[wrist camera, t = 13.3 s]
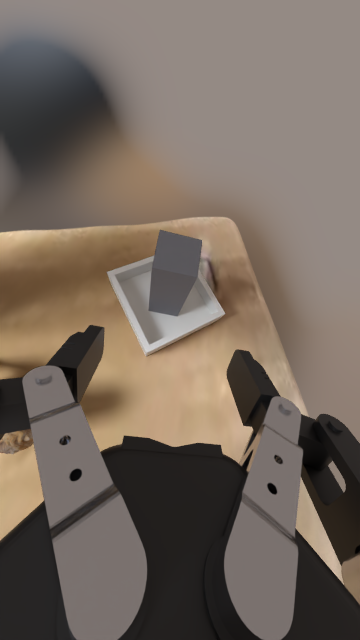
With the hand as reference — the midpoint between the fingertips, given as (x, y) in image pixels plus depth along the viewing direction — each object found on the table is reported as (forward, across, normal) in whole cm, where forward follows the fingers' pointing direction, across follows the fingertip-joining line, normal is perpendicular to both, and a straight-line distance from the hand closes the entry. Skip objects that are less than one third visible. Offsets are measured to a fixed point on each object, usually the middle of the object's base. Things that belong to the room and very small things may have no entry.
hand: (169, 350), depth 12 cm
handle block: (+19, 0, +4) cm, 19 cm away
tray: (+20, 0, +5) cm, 20 cm away
